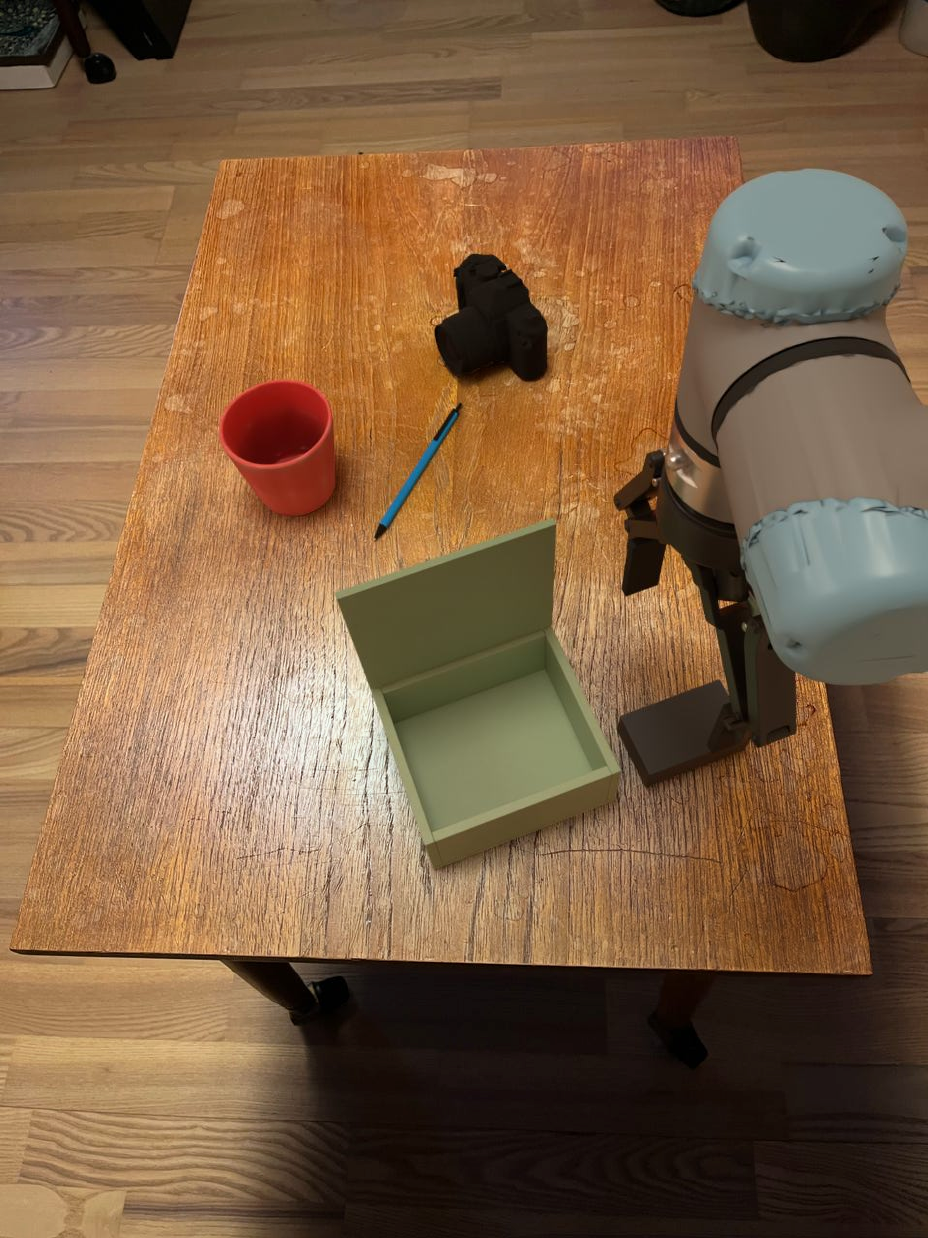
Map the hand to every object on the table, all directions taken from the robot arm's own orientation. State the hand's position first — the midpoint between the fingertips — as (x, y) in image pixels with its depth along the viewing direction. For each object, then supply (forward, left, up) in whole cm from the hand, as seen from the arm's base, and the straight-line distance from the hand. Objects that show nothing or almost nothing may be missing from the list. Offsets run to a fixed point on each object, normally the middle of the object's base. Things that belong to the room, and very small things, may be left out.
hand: (681, 661), depth 65 cm
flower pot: (+37, +22, -12) cm, 45 cm away
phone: (-2, -1, -12) cm, 12 cm away
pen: (+34, +10, -13) cm, 38 cm away
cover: (+9, +14, +2) cm, 17 cm away
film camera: (+47, -2, -12) cm, 49 cm away
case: (+2, +14, -12) cm, 19 cm away
